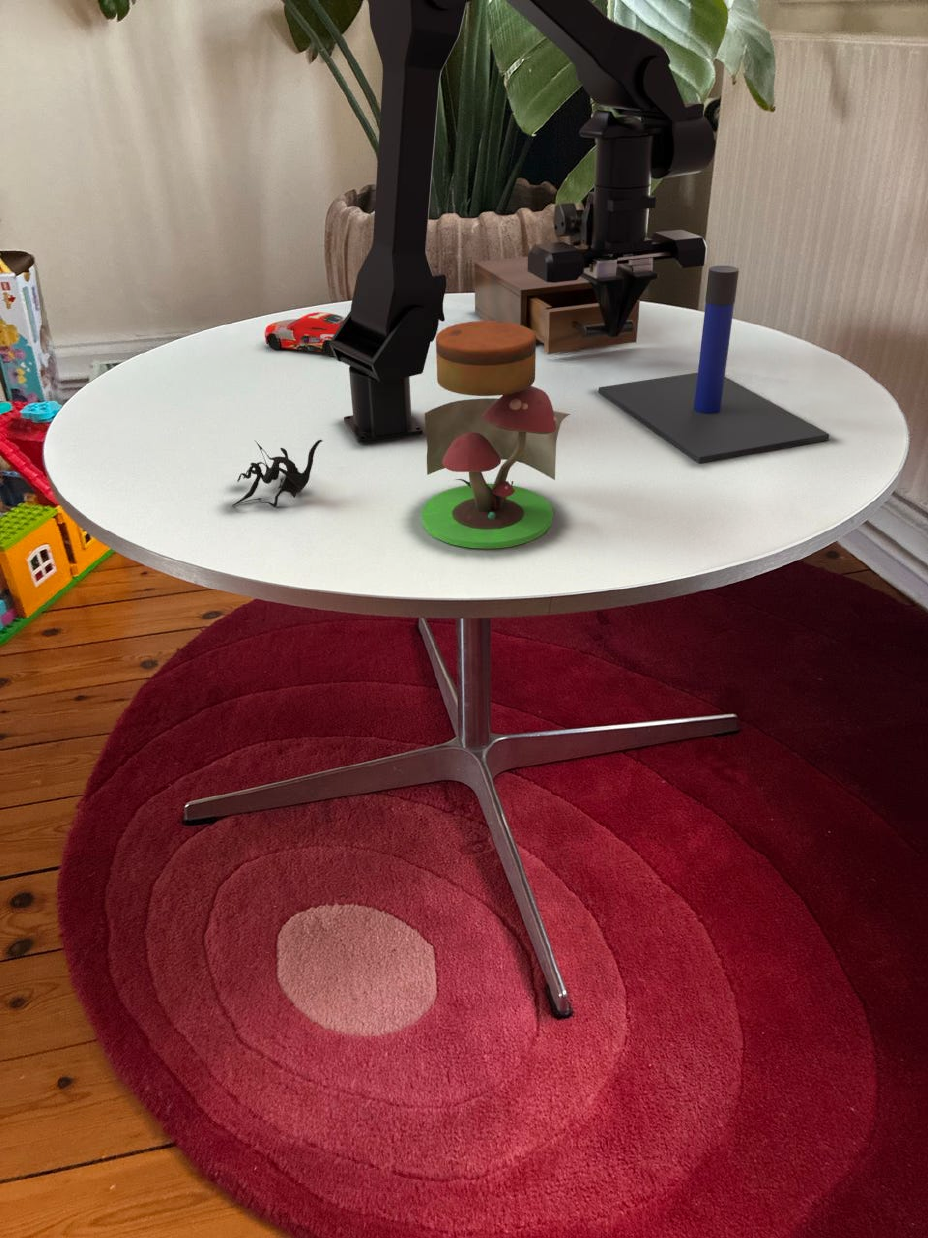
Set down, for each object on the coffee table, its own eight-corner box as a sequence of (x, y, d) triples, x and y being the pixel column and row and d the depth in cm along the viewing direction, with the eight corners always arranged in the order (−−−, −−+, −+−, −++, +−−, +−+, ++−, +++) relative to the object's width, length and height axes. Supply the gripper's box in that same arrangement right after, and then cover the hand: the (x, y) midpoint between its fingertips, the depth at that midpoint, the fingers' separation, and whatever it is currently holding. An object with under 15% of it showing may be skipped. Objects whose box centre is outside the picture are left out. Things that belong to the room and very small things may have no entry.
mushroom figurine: (582, 548, 74) (593, 354, 66) (418, 556, 74) (408, 362, 66) (559, 483, 84) (565, 307, 76) (414, 489, 84) (405, 314, 76)
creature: (214, 516, 83) (282, 518, 78) (194, 456, 80) (262, 454, 76) (275, 482, 88) (342, 482, 84) (258, 425, 86) (325, 422, 81)
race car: (256, 348, 119) (252, 315, 116) (281, 336, 123) (277, 304, 120) (350, 360, 114) (347, 326, 112) (373, 346, 118) (370, 313, 116)
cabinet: (613, 333, 121) (617, 278, 117) (520, 345, 117) (520, 289, 114) (560, 302, 133) (562, 252, 129) (474, 313, 130) (474, 261, 126)
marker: (717, 415, 95) (736, 273, 88) (690, 411, 96) (706, 270, 89) (723, 406, 97) (741, 266, 90) (696, 402, 98) (712, 264, 91)
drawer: (653, 351, 111) (656, 309, 109) (562, 364, 108) (564, 321, 106) (582, 311, 126) (584, 272, 123) (501, 321, 123) (501, 282, 120)
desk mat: (828, 439, 91) (829, 433, 91) (698, 463, 87) (699, 457, 87) (712, 375, 107) (713, 369, 107) (598, 392, 103) (598, 387, 103)
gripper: (663, 166, 108) (651, 308, 117) (508, 179, 103) (507, 326, 112) (717, 181, 100) (700, 333, 108) (551, 195, 94) (547, 354, 103)
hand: (612, 336), depth 108 cm, fingers closed, pressing on drawer
